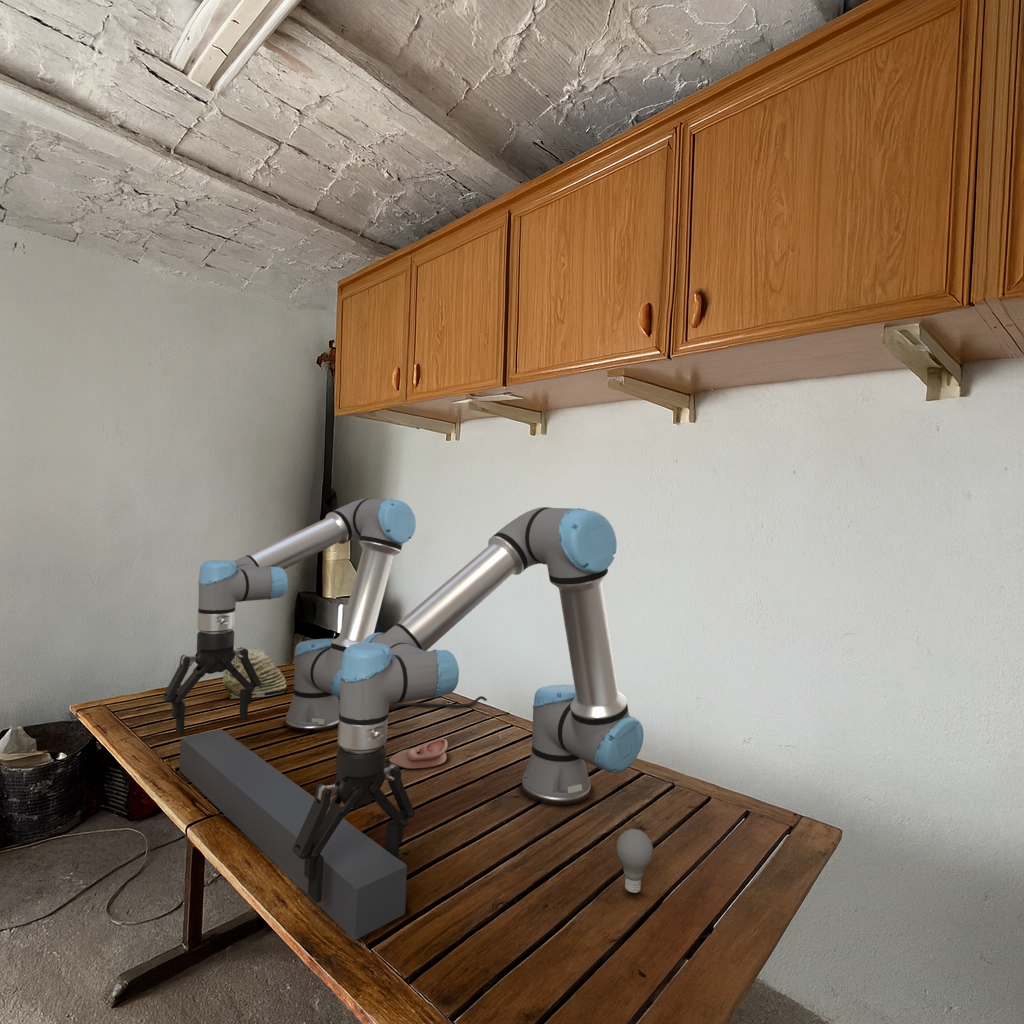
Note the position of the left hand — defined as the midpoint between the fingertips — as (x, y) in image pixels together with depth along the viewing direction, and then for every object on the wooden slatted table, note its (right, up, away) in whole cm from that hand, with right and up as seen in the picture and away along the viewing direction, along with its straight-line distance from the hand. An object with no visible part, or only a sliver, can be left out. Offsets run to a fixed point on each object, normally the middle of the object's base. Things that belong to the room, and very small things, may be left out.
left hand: (212, 725), depth 141 cm
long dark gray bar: (+21, -13, -21) cm, 32 cm away
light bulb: (+87, -16, -36) cm, 95 cm away
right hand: (+42, -10, -42) cm, 61 cm away
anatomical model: (+44, -13, +13) cm, 48 cm away
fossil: (-14, -10, +57) cm, 59 cm away
